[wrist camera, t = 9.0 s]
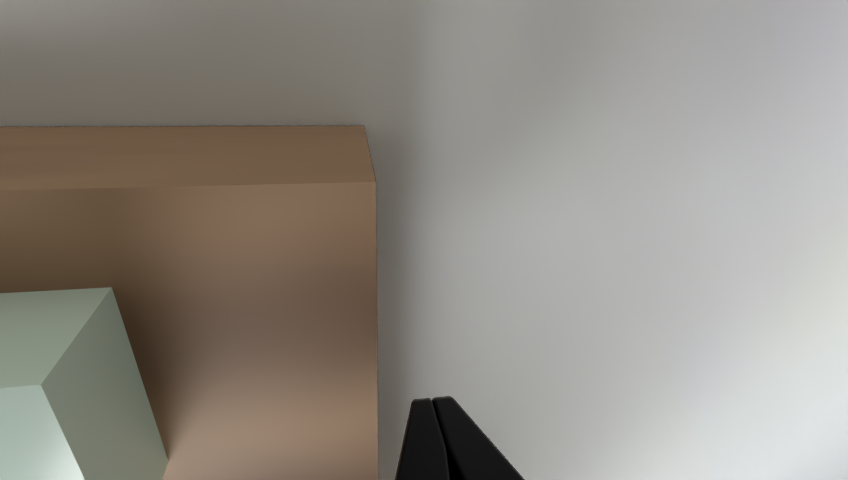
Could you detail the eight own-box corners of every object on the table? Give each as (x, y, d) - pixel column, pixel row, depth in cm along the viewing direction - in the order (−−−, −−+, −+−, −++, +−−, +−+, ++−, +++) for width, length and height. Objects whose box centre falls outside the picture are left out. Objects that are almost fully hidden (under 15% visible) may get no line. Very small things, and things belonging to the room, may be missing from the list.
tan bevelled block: (372, 558, 22) (379, 667, 18) (3, 614, 19) (-70, 753, 16) (364, 125, 12) (375, 182, 9) (-365, 127, 10) (-747, 207, 6)
